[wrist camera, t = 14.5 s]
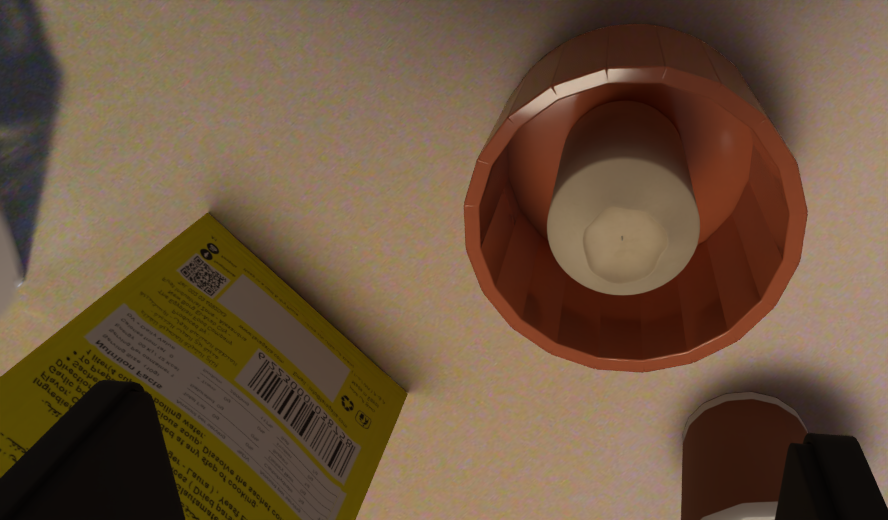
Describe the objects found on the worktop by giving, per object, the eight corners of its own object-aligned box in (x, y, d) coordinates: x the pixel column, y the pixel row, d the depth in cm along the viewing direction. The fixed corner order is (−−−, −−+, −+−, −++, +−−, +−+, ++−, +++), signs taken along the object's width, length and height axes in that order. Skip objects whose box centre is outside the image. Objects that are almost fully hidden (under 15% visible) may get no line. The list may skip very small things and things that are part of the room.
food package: (202, 218, 43) (-92, 452, 25) (213, 205, 42) (-78, 436, 24) (402, 397, 45) (262, 725, 28) (414, 387, 45) (280, 714, 27)
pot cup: (500, 267, 40) (470, 361, 32) (494, 26, 35) (457, 68, 27) (747, 277, 38) (780, 382, 30) (780, 19, 32) (832, 63, 24)
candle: (551, 112, 36) (528, 187, 27) (674, 87, 34) (692, 158, 25) (574, 220, 38) (559, 323, 29) (690, 201, 36) (713, 304, 27)
